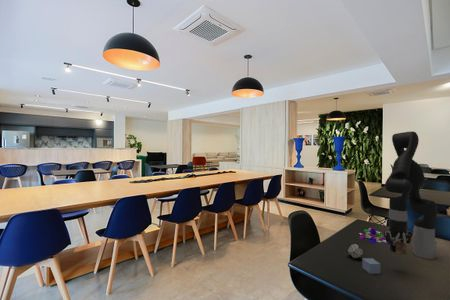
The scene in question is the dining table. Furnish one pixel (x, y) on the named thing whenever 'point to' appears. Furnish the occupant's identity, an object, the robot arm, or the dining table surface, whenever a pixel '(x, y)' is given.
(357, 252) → the game die
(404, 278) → the dining table surface
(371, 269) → the blue block
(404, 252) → the walnut block
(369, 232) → the building block set
